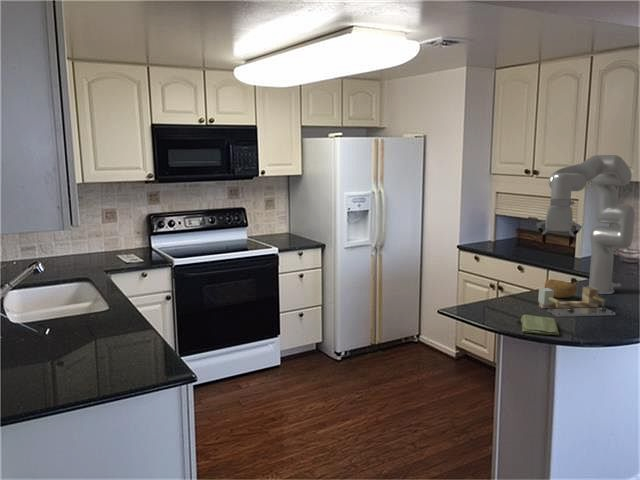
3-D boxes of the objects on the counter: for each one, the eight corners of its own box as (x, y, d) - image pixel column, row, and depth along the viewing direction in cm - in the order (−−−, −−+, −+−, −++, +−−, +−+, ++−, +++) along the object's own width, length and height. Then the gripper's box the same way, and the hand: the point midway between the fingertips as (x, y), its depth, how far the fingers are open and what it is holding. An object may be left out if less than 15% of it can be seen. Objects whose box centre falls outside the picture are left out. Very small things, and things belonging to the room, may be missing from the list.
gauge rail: (592, 304, 234) (593, 286, 232) (610, 312, 221) (611, 294, 220) (537, 306, 231) (539, 288, 230) (552, 314, 219) (554, 295, 218)
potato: (572, 302, 237) (574, 285, 236) (540, 297, 246) (541, 280, 245) (579, 298, 244) (580, 281, 243) (547, 293, 253) (548, 276, 252)
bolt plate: (603, 309, 226) (603, 305, 225) (615, 315, 218) (615, 310, 218) (547, 311, 224) (547, 306, 223) (557, 317, 216) (557, 312, 215)
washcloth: (521, 334, 196) (522, 326, 196) (520, 320, 213) (520, 312, 212) (560, 338, 192) (560, 329, 192) (555, 323, 209) (556, 316, 208)
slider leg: (547, 301, 232) (547, 287, 231) (562, 309, 219) (563, 295, 218) (538, 301, 231) (539, 288, 230) (553, 309, 219) (554, 295, 218)
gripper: (583, 204, 219) (579, 245, 221) (538, 202, 226) (535, 242, 228) (584, 205, 212) (580, 247, 214) (537, 203, 219) (534, 244, 221)
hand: (557, 244), depth 221 cm, fingers open, 9 cm apart
